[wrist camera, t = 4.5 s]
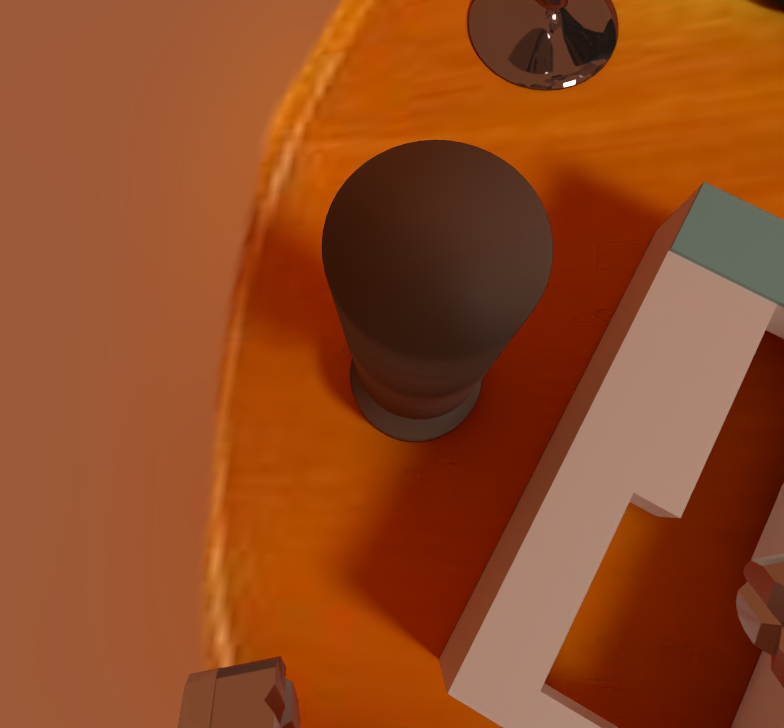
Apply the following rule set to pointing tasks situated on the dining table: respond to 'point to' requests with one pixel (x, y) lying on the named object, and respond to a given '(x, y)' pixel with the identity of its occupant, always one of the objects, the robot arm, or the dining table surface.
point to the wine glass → (544, 39)
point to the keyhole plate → (628, 458)
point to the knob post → (432, 278)
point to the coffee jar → (778, 3)
